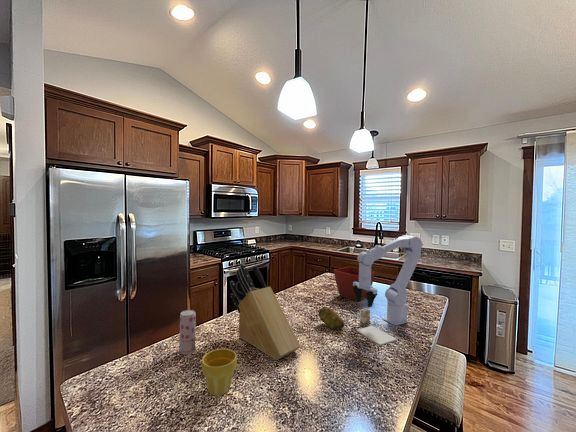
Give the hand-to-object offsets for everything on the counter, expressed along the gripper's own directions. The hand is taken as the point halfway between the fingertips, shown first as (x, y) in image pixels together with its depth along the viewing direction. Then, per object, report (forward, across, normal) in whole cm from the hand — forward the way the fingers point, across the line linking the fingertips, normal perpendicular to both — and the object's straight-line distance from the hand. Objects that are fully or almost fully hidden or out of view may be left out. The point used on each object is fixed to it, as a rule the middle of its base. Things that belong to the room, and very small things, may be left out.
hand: (364, 304), depth 128 cm
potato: (+10, -4, -17) cm, 20 cm away
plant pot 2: (+10, -32, +22) cm, 40 cm away
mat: (+9, +12, -4) cm, 16 cm away
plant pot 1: (+9, +15, -74) cm, 76 cm away
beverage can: (+9, -11, -80) cm, 82 cm away
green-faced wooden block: (+9, -1, +2) cm, 10 cm away
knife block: (+9, -5, -52) cm, 53 cm away
